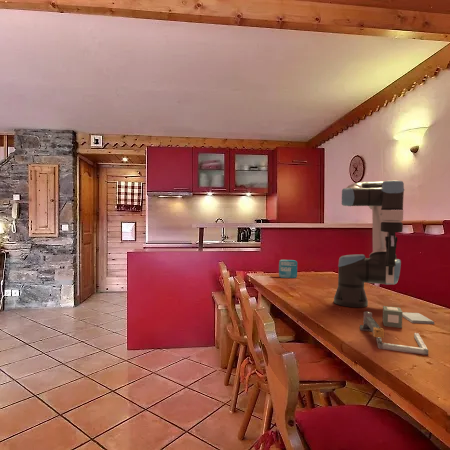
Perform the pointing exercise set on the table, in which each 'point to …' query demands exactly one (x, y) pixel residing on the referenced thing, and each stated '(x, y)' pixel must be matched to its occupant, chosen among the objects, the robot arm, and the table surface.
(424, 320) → the hard drive
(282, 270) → the data package
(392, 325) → the panel
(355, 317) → the table surface
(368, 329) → the post
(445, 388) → the table surface
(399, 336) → the table surface
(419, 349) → the frame
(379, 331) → the cable arm
